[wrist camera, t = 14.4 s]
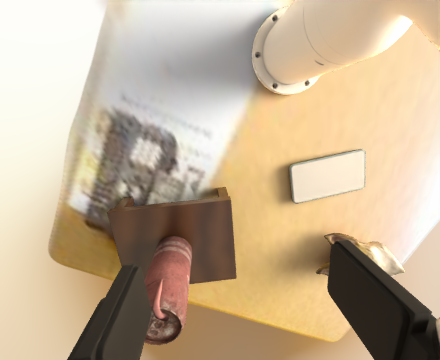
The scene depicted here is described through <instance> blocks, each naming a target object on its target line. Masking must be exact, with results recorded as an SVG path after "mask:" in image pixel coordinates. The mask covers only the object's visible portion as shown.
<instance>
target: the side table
mask: <svg viewBox="0 0 440 360" xmlns="http://www.w3.org/2000/svg"><path fill="white" fill-rule="evenodd" d="M218 196H219V198H210V199H200V200H190V201H181V202H171V203H161V204H151V205H142V206H133V205H134V200H133V197H124V198H123V200H122V201H121V202H120V203H119V204H118V205H117V206H116V207H115V208H112V209H110V210H109V211H108V212H107V214H108V218H109V222H110V225H111V229H112V233H113V236H114V240H115V244H116V247H117V251H118V255H119V259H120V262H121V266H123V265H128V264H137V266H138V267H139V266H140V267H141V269H142V273H143V277H144V280H145V278H146V275H147V272H148V269H149V267H150V264H151V261H152V258H153V256H154V253H155V250H156V248H157V246H158V244H159V242H161V241H162V240H163V239H165V238H167V237H172V236H176V237H181V238H183V239H185V240H186V241H187V242H188V243H189V244H190V246H191V248H192V259H191V269H190V280H189V284H195V283H203V282H211V281H220V280H228V279H236V264H235V250H234V236H233V222H232V208H231V199H230V196H229V197H228V193H227V190H226V187H223V188H218Z"/></svg>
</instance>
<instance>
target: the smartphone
mask: <svg viewBox="0 0 440 360" xmlns="http://www.w3.org/2000/svg"><path fill="white" fill-rule="evenodd" d="M365 162H366V152H365V150H363V149H359V150H354V151H350V152H345V153H341V154H336V155H331V156H327V157H322V158H318V159H313V160H309V161H304V162H299V163H295V164H292V165H290V167H289V172H290V182H291V192H292V201H293V202H294V203H296V204H298V203H302V202H307V201H311V200H316V199H320V198H325V197H329V196H334V195H338V194H343V193H347V192H352V191H356V190H360V189H363V188H364V187H365Z"/></svg>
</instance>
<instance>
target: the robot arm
mask: <svg viewBox="0 0 440 360" xmlns="http://www.w3.org/2000/svg"><path fill="white" fill-rule="evenodd" d="M272 19H274V22H273V20H272ZM412 23H414V24H415V25H416V26H417V27H418V28H419V29H420V30H421V31H422V32H423V33H424V35H425V36H426V37H427V38H428V40H429V41H430V42H432V43H434V44H435V46H436V47H437V48H438V49H439V51H440V0H294V1H293V2H292V3H291V5H290V6H287V7H283V8H281V9H279V10H277V11H275V12H274V13H272V14H271V15H270V16H269V17H268V18H267V19H266V20H265V21H264V22H263V24H262V25H261V27H260V28H259V30H258V32H257V34H256V36H255V39H254V42H253V48H252V62H253V68H254V71H255V73H256V75H257V77H258V79H259V81H260V82H261V83H262V84H263V85H264V86H265V87H266V88H267V89H269V90H270V91H272V92H274V93H277V94H281V95H291V94H296V93H299V92H302V91H304V90H306V89H308V88H309V87H310V86H311V85H313V84H314V83H315V82H316V81H317V79H318V78H319V77H320V75H323V74H326V73H329V72H332V71H334V70H337V69H340V68H343V67H346V66H349V65H352V64H355V63H358V62H360V61H363V60H366V59H368V58H371V57H373V56H375V55H377V54H379V53H381V52H382V51H384V50H385V49H387V48H388V47H390V46H391V45H392V44H393V43H394V42H395V41H397V40H398V39H399V38H400V37H401V36H402V35H403V34H404V33H405V31H406V30H407V29H408V28H409V26H410V25H411V24H412ZM256 55H258V58H256ZM304 83H306V85H305V84H304ZM273 85H274V86H275V87H274V88H273V87H272V86H273ZM327 287H328V292H329V295H330V296H331V298H332V299H333V301H334V302H335V303H336V305H337V306H338V308H339V309H340V311H341V312H342V314H343V315H344V316H345V318H346V319H347V321H348V322H349V324H350V325H351V326H352V328H353V329H354V331H355V332H356V334H357V335H358V337H359V338H360V339H361V341H362V342H363V344H364V345H365V347H366V348H367V350H368V351H369V352H370V354H371V355H372V357H373V358H374V360H440V318H438V319H436V318H435V317H434V316H433V315H431V313H432V312H431V311H430V310H429V309H428V308H427V307H426V306H424V305H423V304H422V303H421V302H420V301H419V300H418V299H416V298H415V297H414V296H413V295H412V294H410V293H409V292H408V291H407V290H406V289H405V288H404V287H403V286H401V285H400V284H399V283H398V282H397V281H396V280H394V279H393V278H392V277H391V276H390V275H389V274H388V273H386V272H385V271H384V270H383V269H382V268H381V267H380V266H378V265H377V264H376V263H375V262H374V261H373V260H371V259H370V258H369V257H368V256H367V255H366V254H365V253H363V252H362V251H361V250H360V249H359V248H358V247H357V246H355V245H354V244H353V243H352V242H351V241H349V240H339V241H335V242H334V244H332V246H331V254H330V265H329V276H328V286H327ZM150 319H151V306H150V302H149V298H148V294H147V290H146V285H145V281H144V277H143V273H142V269H141V267H140V266H139V267H138V266H137V264H128V265H123V266H122V268H121V269H120V271H119V273H118V275H117V277H116V279H115V280H114V282H113V284H112V286H111V288H110V290H109V292H108V293H107V295H106V297H105V298H103V299H102V300H101V301H100V302H99V304H98V306H97V307H96V309H95V311H94V313H93V315H92V316H91V318H90V320H89V322H88V324H87V325H86V327H85V329H84V331H83V332H82V334H81V336H80V338H79V340H78V341H77V343H76V345H75V347H74V348H73V350H72V352H71V354H70V356H69V357H68V359H67V360H140V356H141V353H142V349H143V345H144V341H145V338H146V334H147V330H148V326H149V323H150Z"/></svg>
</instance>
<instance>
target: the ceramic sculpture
mask: <svg viewBox="0 0 440 360" xmlns="http://www.w3.org/2000/svg"><path fill="white" fill-rule="evenodd" d="M324 237H325V238H326V239H327V240H328V242H329V243H330V245H331V246H332V244H334V242H335V241H339V240H349V241H351V242H352V243H353V244H354V245H355V246H357V247H358V248H359V249H360V250H361V251H362V252H363V253H365V254H366V255H367V256H368V257H369V258H370V259H371V260H373V261H374V262H375V263H376V264H377V265H378V266H380V267H381V268H382V269H383V270H384V271H385V272H386V273H388V274H389V275H390V276H393V275H396V274H398V273H404V272H405V271H404V269H403V267H402V266H401V265H400V263H399V262H398V261H397V260H396V259H395V257H394V256H393V255H392V253H391V252H390V251H389V250H388V249H387V248H386V246H385V245H383V244H381V243H379V242H370V243H368V244H362V243H359V242H358V241H357V240H356V239H355V238H353V237H350V236H348V235H344V234H341V233H332V234H328V235H325V236H324ZM329 265H330V262H327V263H325V264H324V265H323V266H321V267H320V268H319V269H318V270H317V271H316V274H325V275H327V276H329Z"/></svg>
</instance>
